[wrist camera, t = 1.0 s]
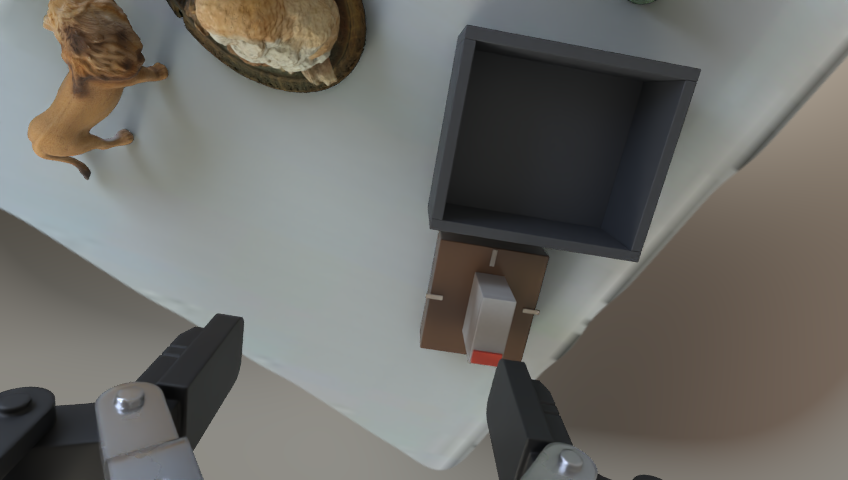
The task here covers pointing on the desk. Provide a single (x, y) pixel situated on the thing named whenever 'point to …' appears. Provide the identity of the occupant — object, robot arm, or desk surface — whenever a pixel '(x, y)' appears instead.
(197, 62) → the desk surface
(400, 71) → the desk surface
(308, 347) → the desk surface
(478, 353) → the tap knob
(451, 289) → the panel
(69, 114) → the lion figurine
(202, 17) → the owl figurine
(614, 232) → the gray open box
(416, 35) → the desk surface
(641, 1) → the green tube
